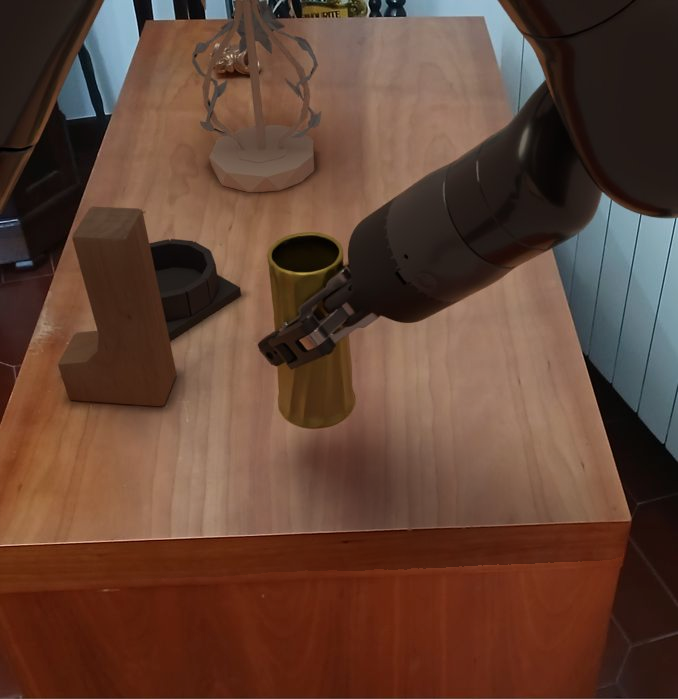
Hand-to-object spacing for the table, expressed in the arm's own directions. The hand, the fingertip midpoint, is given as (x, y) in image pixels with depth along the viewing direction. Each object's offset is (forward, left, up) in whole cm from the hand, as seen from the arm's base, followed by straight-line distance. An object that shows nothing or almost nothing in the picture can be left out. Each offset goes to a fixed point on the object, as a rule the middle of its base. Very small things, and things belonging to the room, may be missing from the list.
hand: (291, 330), depth 69 cm
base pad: (+6, +24, -13) cm, 28 cm away
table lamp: (+30, +36, -13) cm, 49 cm away
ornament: (+46, +59, -13) cm, 76 cm away
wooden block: (-5, +18, -13) cm, 22 cm away
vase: (0, -2, -7) cm, 7 cm away
